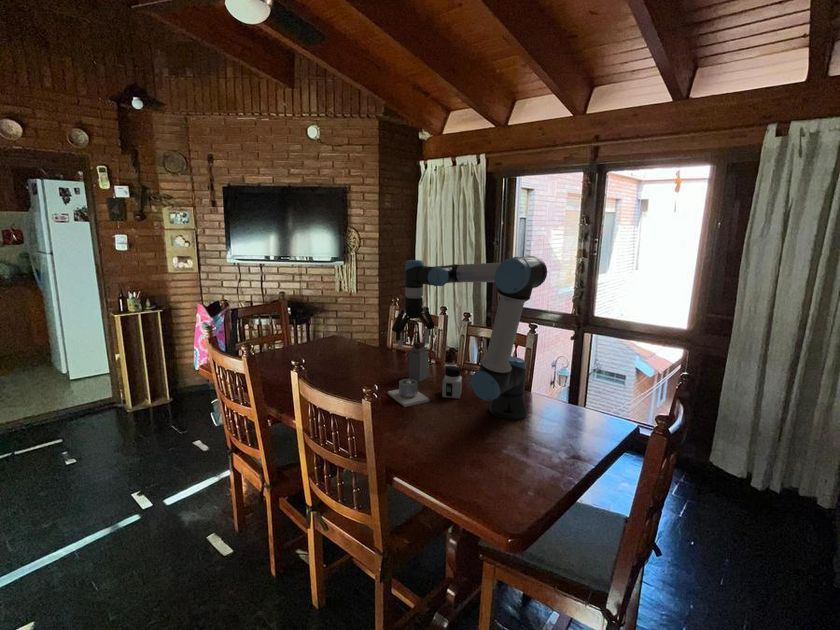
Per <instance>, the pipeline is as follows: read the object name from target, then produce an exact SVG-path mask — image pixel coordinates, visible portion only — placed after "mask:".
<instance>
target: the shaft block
mask: <svg viewBox="0 0 840 630" xmlns="http://www.w3.org/2000/svg"><path fill="white" fill-rule="evenodd" d="M406 384H411V381H406ZM387 395H388V396H390V397H391V398H392V399H394V400H395V401H396V402H398V403H399V404H400V405H401V406H402V407H404V408H405V407H406V408H407V407H412V406H415V405H421V404H425V403H429V402H430V398H429V397H427V396H426V395H424V393H421V392H419V390H417V395H415V396H402V395H400V394H399V388H397V389H393V390H388V391H387Z"/></svg>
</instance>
